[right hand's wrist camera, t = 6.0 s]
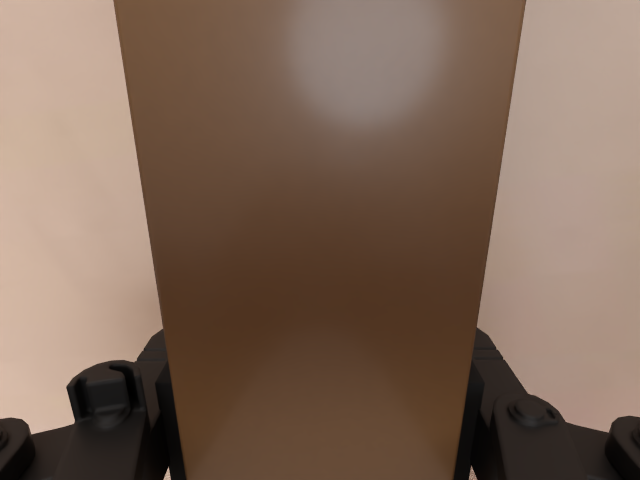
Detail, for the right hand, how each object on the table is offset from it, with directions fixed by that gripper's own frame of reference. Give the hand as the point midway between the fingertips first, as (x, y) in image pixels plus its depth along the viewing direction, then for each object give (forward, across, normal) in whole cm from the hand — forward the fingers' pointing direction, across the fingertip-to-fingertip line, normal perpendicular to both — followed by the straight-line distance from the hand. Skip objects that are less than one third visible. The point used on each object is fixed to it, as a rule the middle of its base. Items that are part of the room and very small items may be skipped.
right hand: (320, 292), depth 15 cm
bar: (+1, 0, -32) cm, 32 cm away
